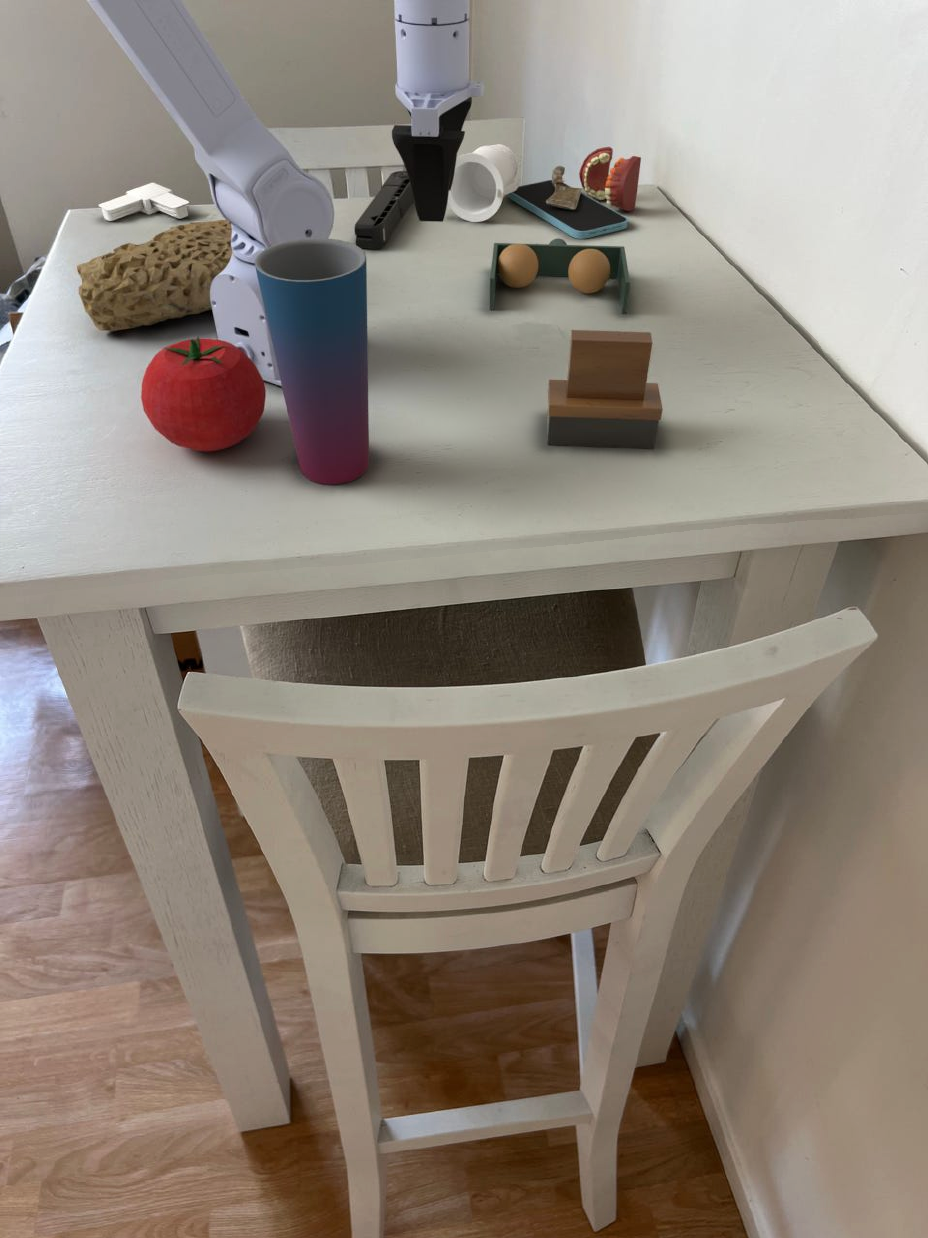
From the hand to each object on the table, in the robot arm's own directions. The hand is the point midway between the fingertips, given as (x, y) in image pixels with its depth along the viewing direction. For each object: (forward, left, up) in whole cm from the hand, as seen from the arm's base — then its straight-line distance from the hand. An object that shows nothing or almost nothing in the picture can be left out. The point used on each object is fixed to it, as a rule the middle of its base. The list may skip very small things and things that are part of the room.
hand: (435, 203), depth 77 cm
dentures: (+35, +2, -7) cm, 36 cm away
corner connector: (+3, +41, -8) cm, 42 cm away
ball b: (+8, -4, -7) cm, 12 cm away
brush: (-12, -23, -9) cm, 27 cm away
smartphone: (+25, -6, -9) cm, 27 cm away
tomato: (-28, +2, -10) cm, 30 cm away
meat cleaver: (+33, +1, -8) cm, 34 cm away
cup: (-26, -8, -10) cm, 29 cm away
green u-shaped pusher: (+10, -7, -9) cm, 16 cm away
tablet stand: (+16, +19, -8) cm, 26 cm away
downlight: (+20, +9, -6) cm, 23 cm away
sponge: (-11, +20, -10) cm, 25 cm away
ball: (+11, -10, -7) cm, 17 cm away
